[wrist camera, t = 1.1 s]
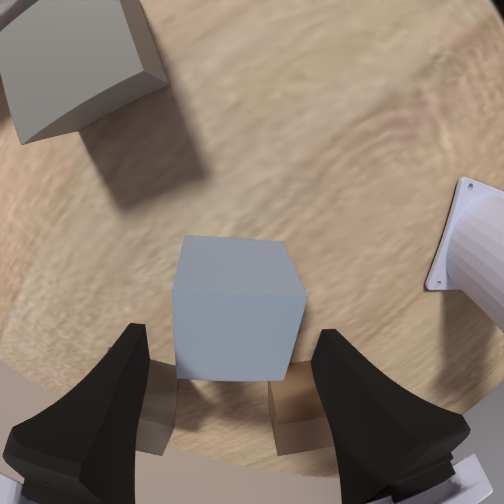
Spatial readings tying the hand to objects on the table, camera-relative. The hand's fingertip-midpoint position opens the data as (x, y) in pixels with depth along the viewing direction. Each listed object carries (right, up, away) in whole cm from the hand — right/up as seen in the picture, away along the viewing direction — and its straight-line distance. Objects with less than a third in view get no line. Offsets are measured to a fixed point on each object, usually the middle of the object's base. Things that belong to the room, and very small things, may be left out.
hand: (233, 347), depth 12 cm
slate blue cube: (0, +2, +5) cm, 5 cm away
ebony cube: (-7, -5, +8) cm, 12 cm away
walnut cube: (+4, -6, +9) cm, 12 cm away
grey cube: (-6, +13, -1) cm, 14 cm away
